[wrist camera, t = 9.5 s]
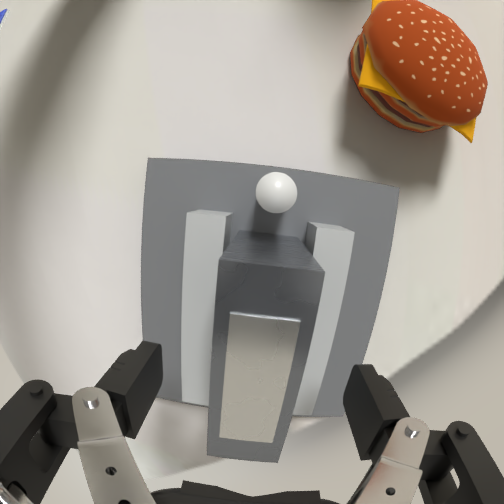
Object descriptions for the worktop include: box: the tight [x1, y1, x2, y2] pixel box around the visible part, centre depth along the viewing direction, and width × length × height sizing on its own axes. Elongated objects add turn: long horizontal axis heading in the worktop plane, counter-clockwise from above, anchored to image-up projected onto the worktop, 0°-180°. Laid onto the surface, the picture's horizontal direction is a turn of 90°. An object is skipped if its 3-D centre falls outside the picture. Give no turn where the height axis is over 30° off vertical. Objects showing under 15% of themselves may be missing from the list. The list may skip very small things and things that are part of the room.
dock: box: [141, 158, 399, 417], centre depth 17 cm, size 18×16×6 cm
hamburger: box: [350, 0, 488, 143], centre depth 13 cm, size 9×10×7 cm
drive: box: [207, 230, 325, 463], centre depth 14 cm, size 10×4×8 cm, turn 173°
